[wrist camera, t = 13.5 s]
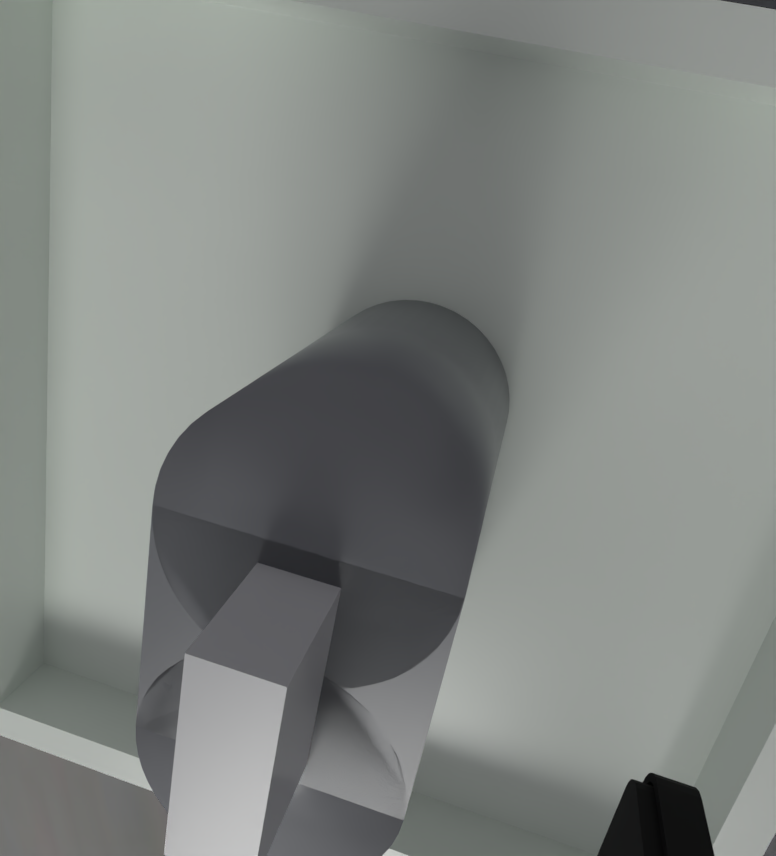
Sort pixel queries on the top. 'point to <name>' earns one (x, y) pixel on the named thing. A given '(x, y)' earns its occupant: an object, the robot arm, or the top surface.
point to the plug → (315, 585)
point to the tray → (439, 284)
